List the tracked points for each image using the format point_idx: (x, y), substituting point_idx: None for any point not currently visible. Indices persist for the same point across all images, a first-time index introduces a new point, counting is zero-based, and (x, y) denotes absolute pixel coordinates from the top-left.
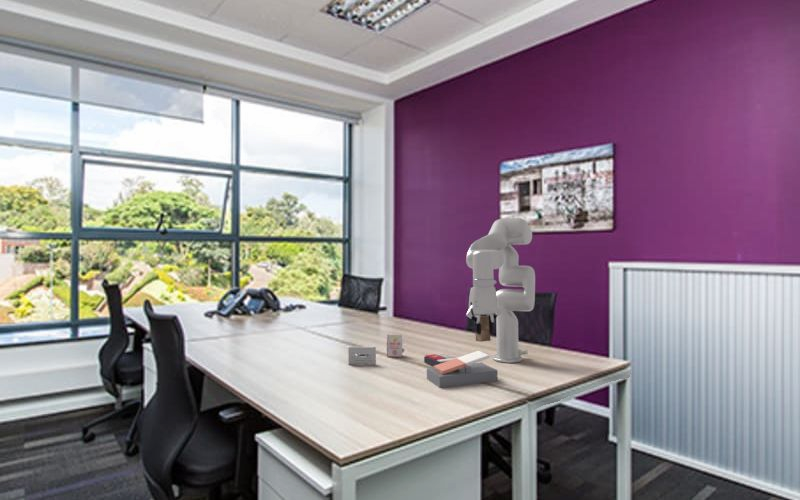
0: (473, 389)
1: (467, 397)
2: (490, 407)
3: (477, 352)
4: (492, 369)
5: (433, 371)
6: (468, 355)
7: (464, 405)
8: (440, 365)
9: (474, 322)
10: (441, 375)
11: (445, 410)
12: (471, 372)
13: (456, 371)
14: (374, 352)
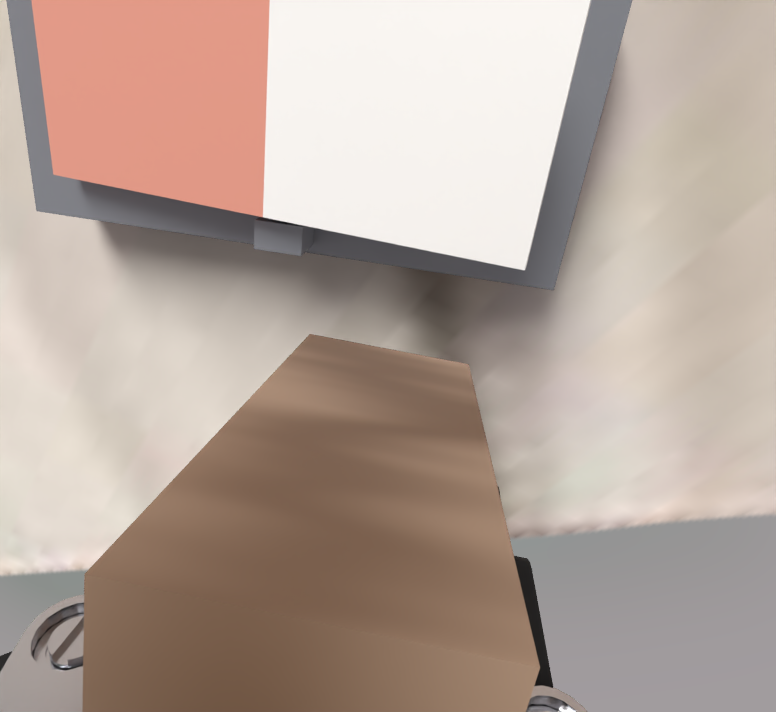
0: (278, 332)
1: (180, 417)
2: None
3: (529, 53)
4: (533, 253)
5: (28, 35)
6: (401, 35)
7: (119, 487)
8: (79, 11)
9: (190, 461)
10: (60, 187)
11: (16, 491)
12: (321, 238)
13: None
14: None
